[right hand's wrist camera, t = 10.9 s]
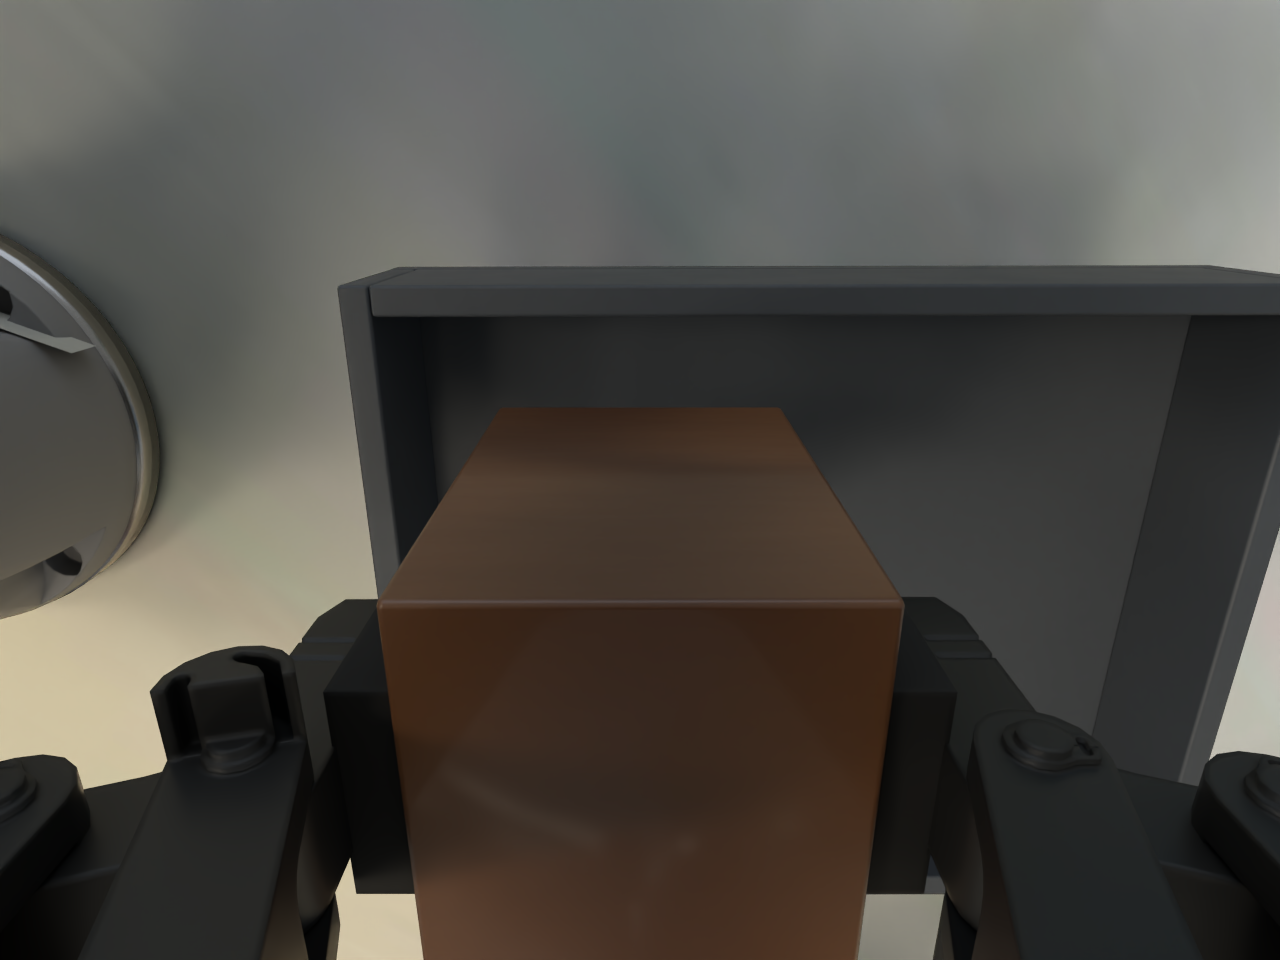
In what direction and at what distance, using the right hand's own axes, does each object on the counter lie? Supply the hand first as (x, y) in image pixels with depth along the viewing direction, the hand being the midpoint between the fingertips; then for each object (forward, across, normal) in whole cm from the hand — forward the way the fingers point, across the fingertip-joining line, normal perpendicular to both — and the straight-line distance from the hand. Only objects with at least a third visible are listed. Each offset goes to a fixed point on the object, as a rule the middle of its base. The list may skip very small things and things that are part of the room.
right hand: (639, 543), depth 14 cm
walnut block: (0, 0, 0) cm, 0 cm away
